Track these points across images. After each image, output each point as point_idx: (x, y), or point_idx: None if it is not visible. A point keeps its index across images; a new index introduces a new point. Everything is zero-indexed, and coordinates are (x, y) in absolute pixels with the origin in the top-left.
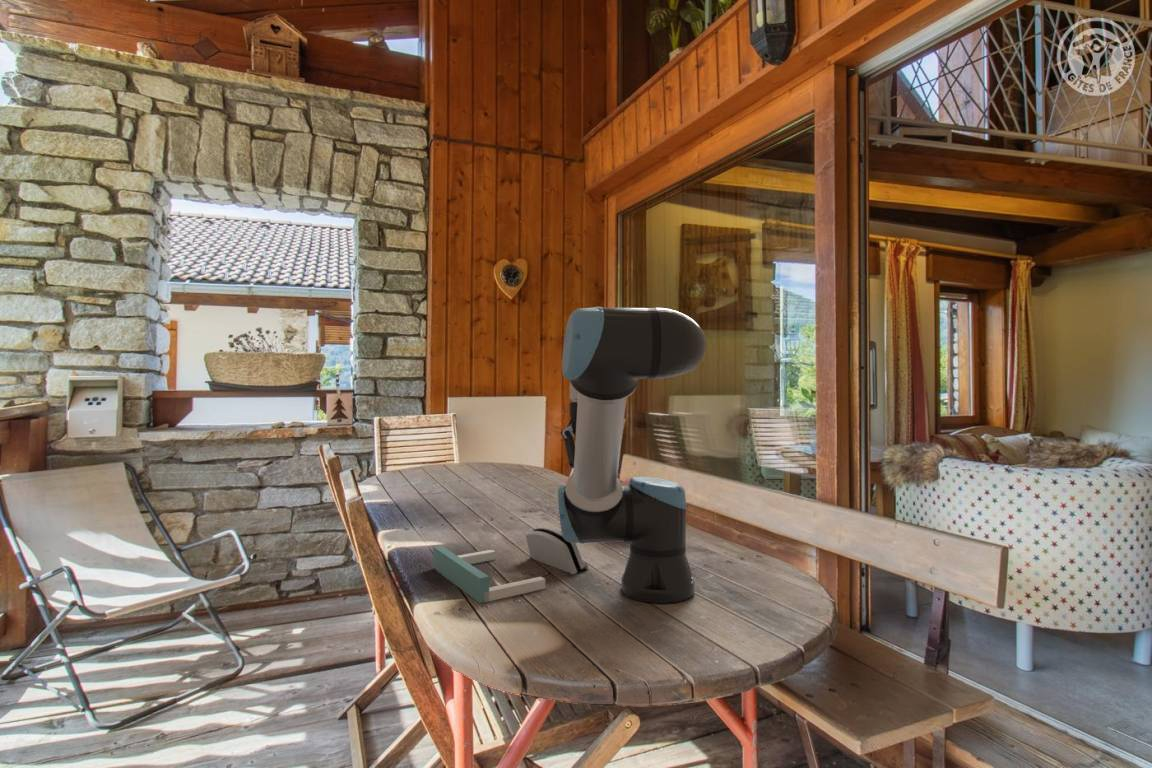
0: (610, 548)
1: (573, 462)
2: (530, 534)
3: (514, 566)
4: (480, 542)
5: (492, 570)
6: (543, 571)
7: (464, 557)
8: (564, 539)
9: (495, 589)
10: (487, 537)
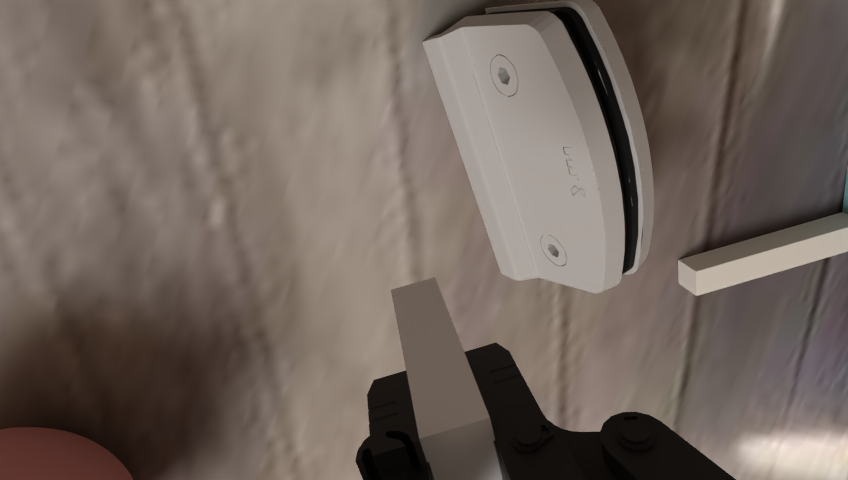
0: (245, 278)
1: (719, 478)
2: (651, 228)
3: (653, 173)
4: None
5: (731, 154)
6: None
7: (803, 239)
8: (578, 50)
9: None
10: None
